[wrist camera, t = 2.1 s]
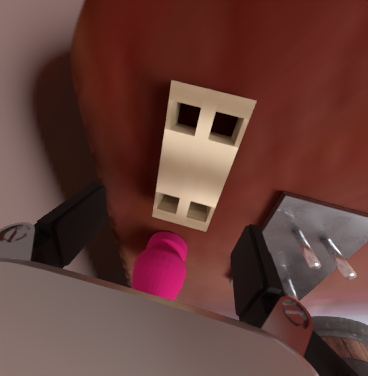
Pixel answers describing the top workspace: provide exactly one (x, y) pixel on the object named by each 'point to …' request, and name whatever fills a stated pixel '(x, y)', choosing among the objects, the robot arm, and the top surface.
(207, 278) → the top surface
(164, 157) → the tan rectangular block
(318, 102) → the top surface
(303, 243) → the chassis
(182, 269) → the pepper mill
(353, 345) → the tankard
